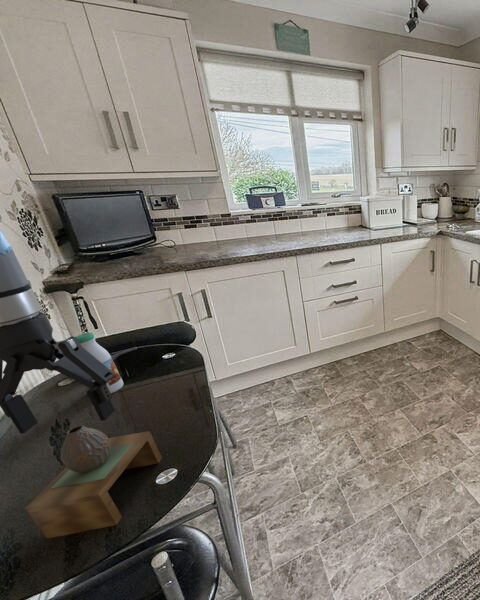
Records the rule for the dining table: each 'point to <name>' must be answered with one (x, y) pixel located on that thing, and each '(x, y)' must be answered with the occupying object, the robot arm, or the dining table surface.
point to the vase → (85, 449)
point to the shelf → (90, 490)
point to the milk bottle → (101, 359)
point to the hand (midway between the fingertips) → (69, 421)
